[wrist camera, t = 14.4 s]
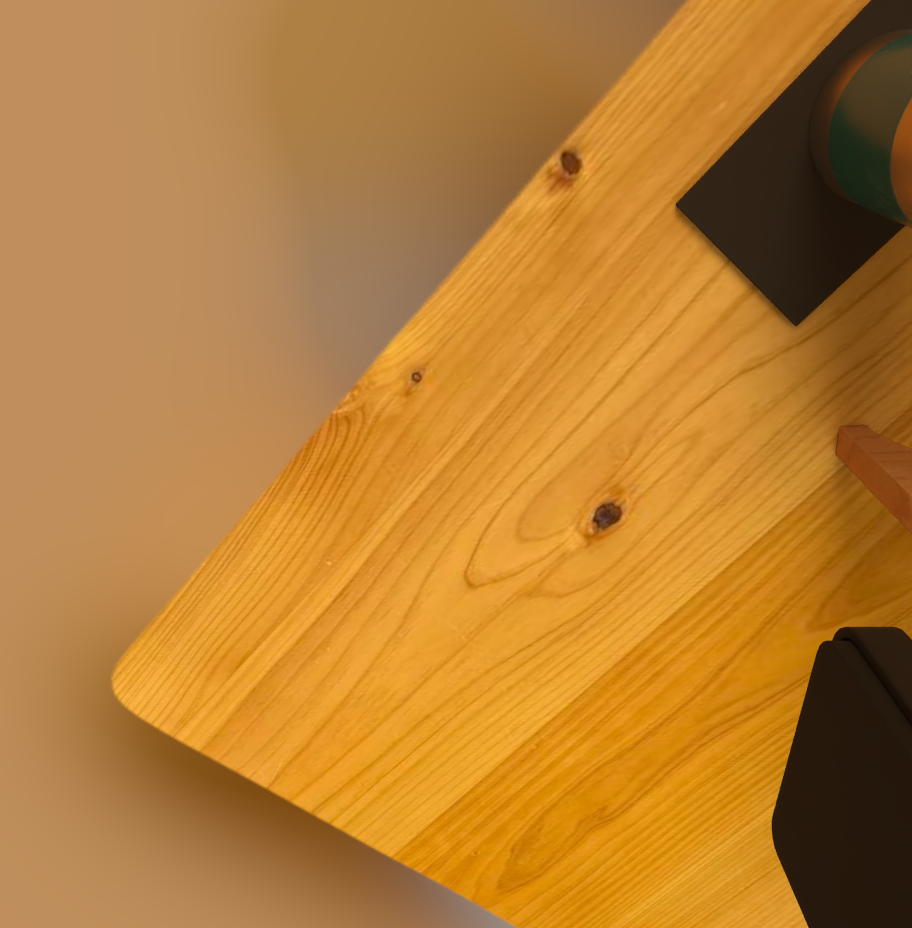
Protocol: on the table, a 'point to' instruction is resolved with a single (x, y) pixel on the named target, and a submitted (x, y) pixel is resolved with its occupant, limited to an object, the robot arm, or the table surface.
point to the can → (868, 127)
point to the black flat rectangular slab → (793, 190)
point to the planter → (879, 468)
